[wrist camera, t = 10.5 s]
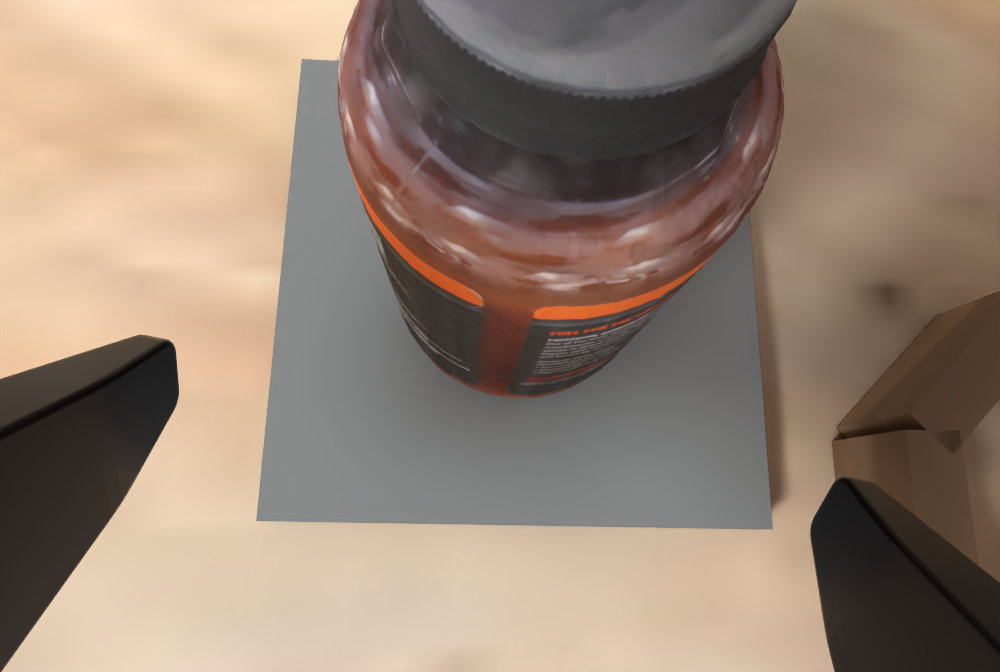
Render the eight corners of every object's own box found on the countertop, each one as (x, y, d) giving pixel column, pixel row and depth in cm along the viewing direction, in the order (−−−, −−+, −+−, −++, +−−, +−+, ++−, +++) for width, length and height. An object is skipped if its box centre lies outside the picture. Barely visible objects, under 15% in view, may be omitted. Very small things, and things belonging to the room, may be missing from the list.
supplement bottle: (679, 270, 17) (1053, -121, 6) (537, 454, 16) (695, 358, 5) (498, 134, 18) (552, -439, 7) (347, 300, 17) (123, -82, 6)
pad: (754, 527, 17) (772, 529, 16) (268, 519, 16) (256, 520, 15) (725, 100, 20) (739, 80, 19) (310, 81, 19) (301, 59, 18)
